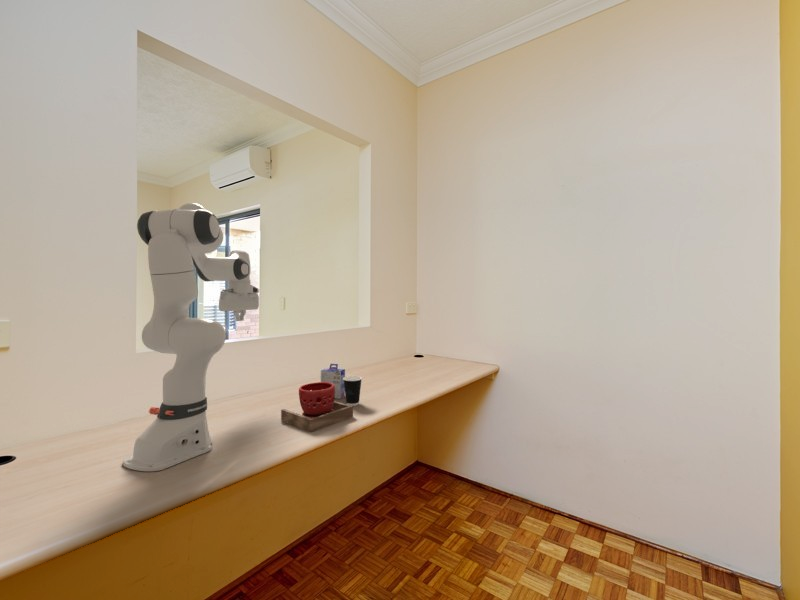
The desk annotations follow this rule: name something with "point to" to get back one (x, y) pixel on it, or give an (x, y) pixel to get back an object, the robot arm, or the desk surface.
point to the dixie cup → (352, 389)
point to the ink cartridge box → (334, 379)
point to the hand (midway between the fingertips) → (239, 321)
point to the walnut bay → (319, 422)
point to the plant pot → (317, 398)
